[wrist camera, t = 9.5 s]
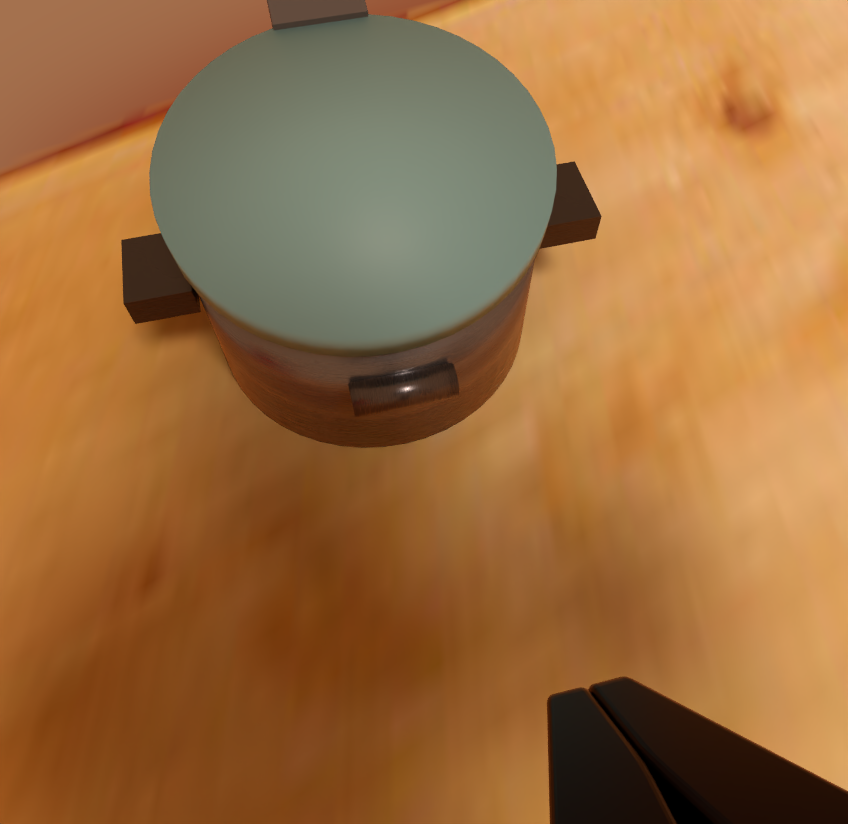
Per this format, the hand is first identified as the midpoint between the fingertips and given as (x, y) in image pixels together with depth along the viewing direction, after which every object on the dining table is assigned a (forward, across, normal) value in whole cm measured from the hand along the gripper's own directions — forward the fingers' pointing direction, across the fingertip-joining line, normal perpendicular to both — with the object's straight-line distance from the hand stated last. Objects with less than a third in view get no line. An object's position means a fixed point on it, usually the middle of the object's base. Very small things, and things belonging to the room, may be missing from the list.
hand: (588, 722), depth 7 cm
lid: (+18, 0, -8) cm, 20 cm away
